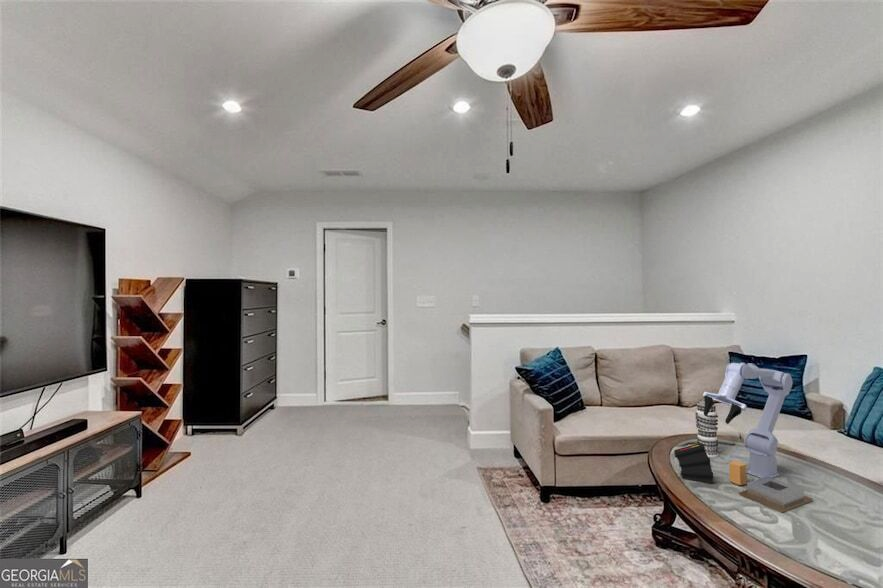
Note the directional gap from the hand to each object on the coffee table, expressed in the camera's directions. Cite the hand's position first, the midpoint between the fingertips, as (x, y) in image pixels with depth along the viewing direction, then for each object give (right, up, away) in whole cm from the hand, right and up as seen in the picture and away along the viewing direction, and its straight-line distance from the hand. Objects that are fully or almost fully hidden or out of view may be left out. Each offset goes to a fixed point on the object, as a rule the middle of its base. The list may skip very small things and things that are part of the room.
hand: (715, 418), depth 160 cm
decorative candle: (+19, -27, +33) cm, 47 cm away
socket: (+16, -27, -9) cm, 32 cm away
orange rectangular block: (+12, -27, +3) cm, 29 cm away
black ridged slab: (-3, -28, +8) cm, 29 cm away
